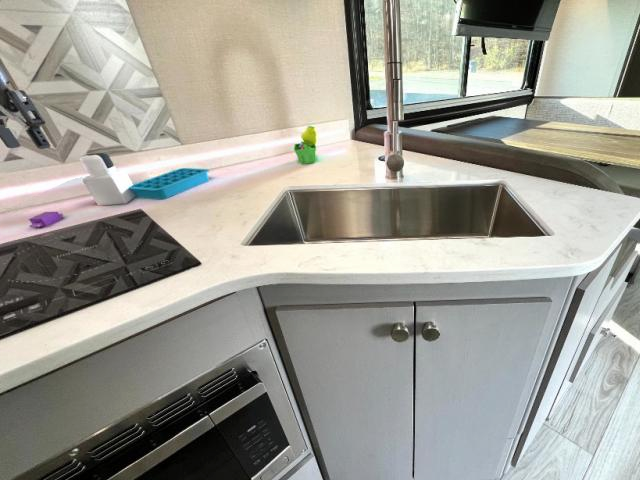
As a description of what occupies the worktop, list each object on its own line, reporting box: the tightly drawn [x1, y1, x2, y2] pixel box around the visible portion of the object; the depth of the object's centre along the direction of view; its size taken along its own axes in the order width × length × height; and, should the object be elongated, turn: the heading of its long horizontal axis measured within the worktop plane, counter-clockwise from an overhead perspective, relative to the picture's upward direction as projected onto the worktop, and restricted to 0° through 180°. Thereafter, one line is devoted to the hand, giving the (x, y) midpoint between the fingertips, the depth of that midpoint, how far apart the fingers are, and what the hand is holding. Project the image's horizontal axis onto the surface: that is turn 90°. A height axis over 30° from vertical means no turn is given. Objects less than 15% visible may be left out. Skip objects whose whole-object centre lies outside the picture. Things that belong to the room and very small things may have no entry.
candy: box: [28, 211, 64, 228], centre depth 74 cm, size 3×7×2 cm, turn 1°
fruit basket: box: [293, 125, 318, 165], centre depth 114 cm, size 11×9×11 cm
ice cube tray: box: [128, 167, 210, 200], centre depth 94 cm, size 12×20×3 cm, turn 165°
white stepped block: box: [79, 152, 137, 207], centre depth 84 cm, size 7×7×12 cm
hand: (29, 147), depth 69 cm, fingers open, 8 cm apart
